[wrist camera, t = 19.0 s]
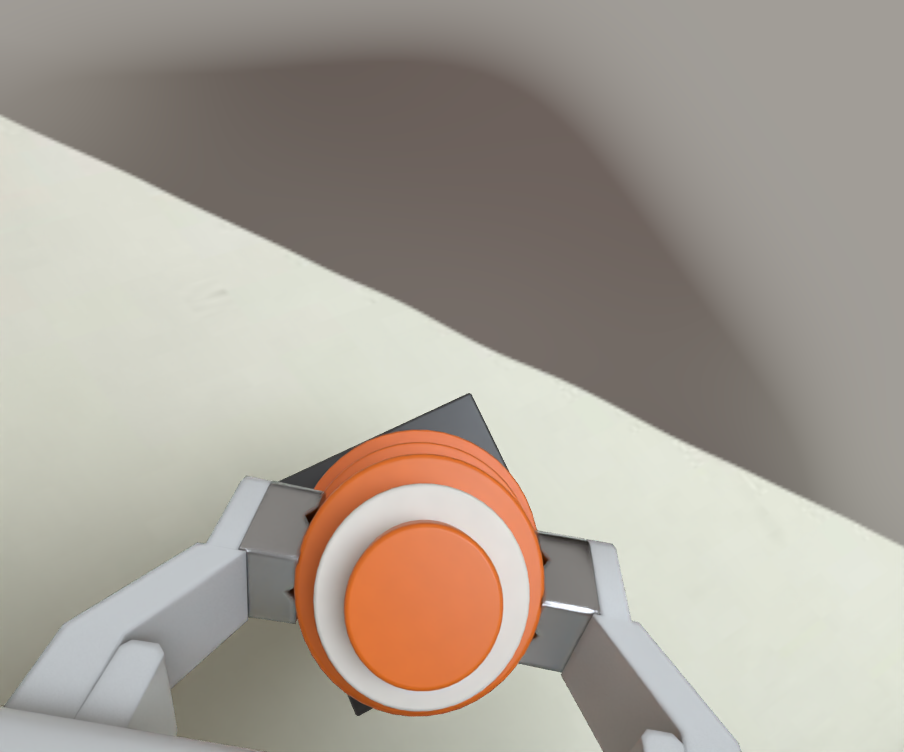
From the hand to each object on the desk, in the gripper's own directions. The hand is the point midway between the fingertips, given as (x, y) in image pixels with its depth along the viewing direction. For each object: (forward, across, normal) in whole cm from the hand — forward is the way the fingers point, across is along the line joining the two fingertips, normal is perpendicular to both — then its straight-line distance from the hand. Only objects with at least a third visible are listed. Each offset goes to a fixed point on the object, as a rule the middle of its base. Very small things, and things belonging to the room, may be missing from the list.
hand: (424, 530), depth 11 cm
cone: (+3, 0, +4) cm, 5 cm away
